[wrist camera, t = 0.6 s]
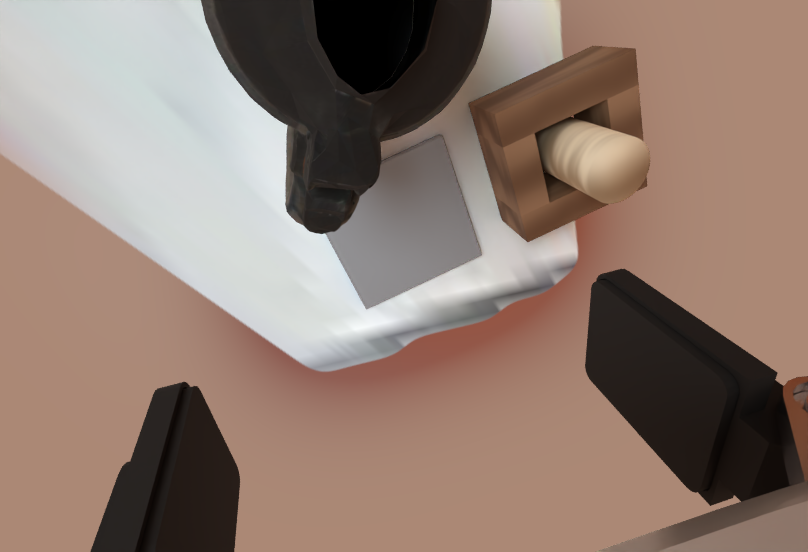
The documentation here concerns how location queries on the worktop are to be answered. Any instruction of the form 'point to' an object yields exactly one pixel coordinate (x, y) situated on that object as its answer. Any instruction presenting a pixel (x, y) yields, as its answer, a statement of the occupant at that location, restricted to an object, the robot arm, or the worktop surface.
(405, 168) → the slate mat
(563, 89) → the walnut holder
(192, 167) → the worktop surface
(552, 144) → the maple plug
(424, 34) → the beer stein
